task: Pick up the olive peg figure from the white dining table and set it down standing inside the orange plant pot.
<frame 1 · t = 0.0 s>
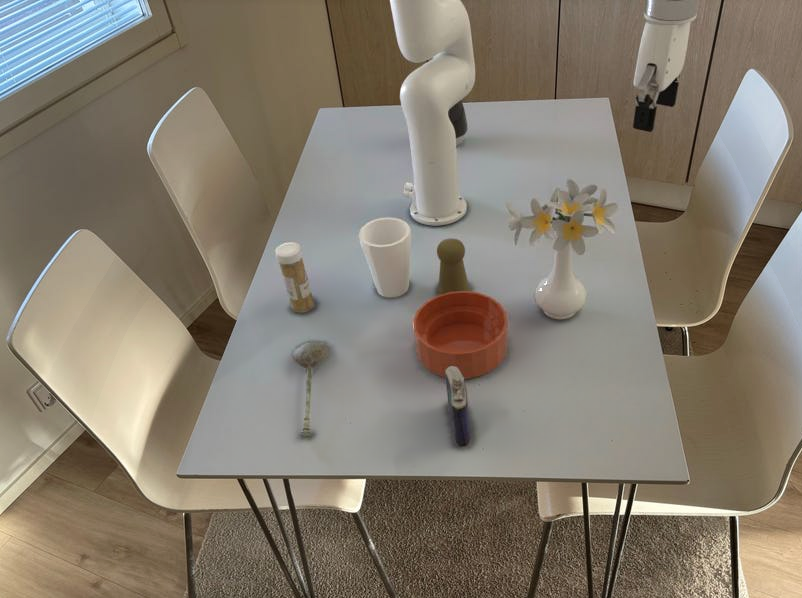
hand: (654, 116, 113), 31 cm above the table, tool pointing down, fingers open, 9 cm apart
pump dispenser: (447, 144, 176), on the table
foam cup: (392, 288, 136), on the table
soupspoon: (310, 388, 118), on the table
orange plant pot: (461, 348, 122), on the table
olive peg figure: (453, 290, 134), on the table
sprinkles bottle: (303, 306, 133), on the table
flower vase: (556, 311, 128), on the table
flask: (459, 425, 110), on the table
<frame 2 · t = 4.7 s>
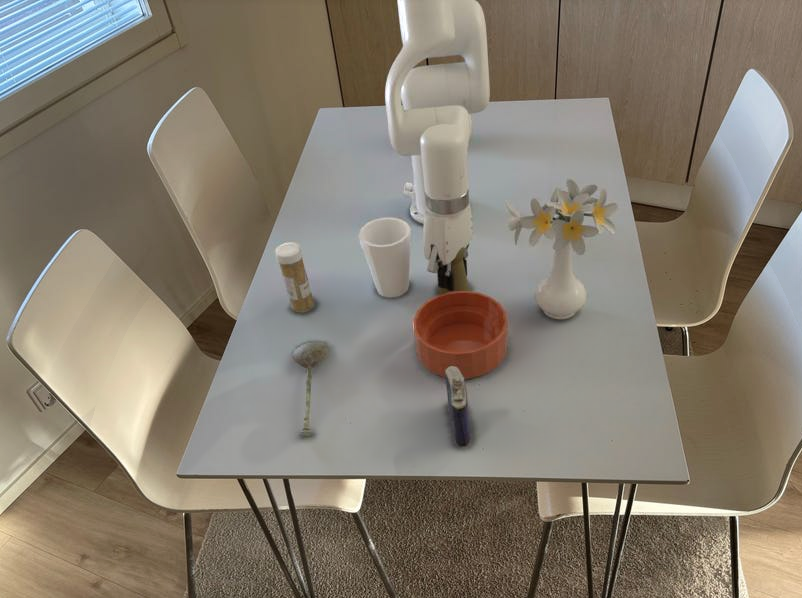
hand: (452, 280, 132), 2 cm above the table, tool pointing down, fingers closed on olive peg figure, 4 cm apart
olive peg figure: (453, 290, 134), on the table, touching gripper
everything else where it was.
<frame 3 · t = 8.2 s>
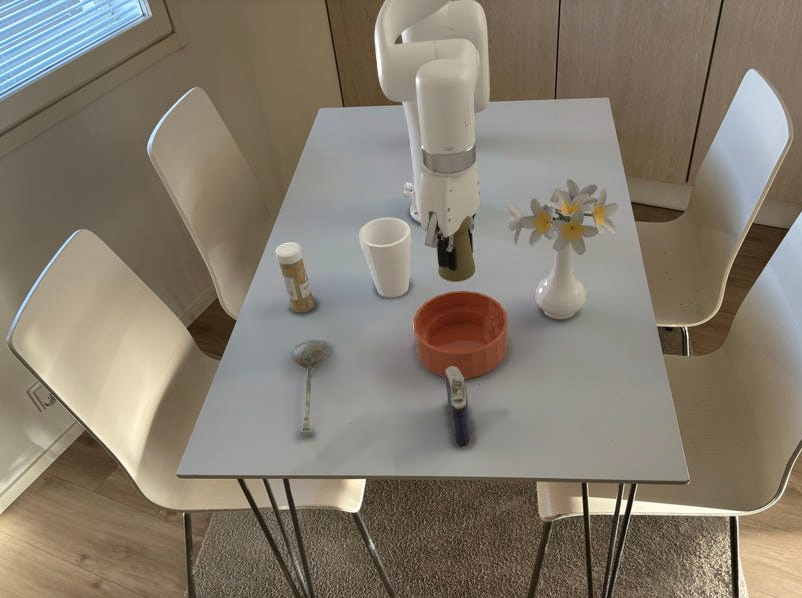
hand: (455, 258, 110), 19 cm above the table, tool pointing down, fingers closed on olive peg figure, 4 cm apart
olive peg figure: (456, 271, 112), point 16 cm above the table, touching gripper
everything else where it was.
when the fingers open (3 cm above the table, at t = 12.0 s): olive peg figure stays where it is, resting on orange plant pot.
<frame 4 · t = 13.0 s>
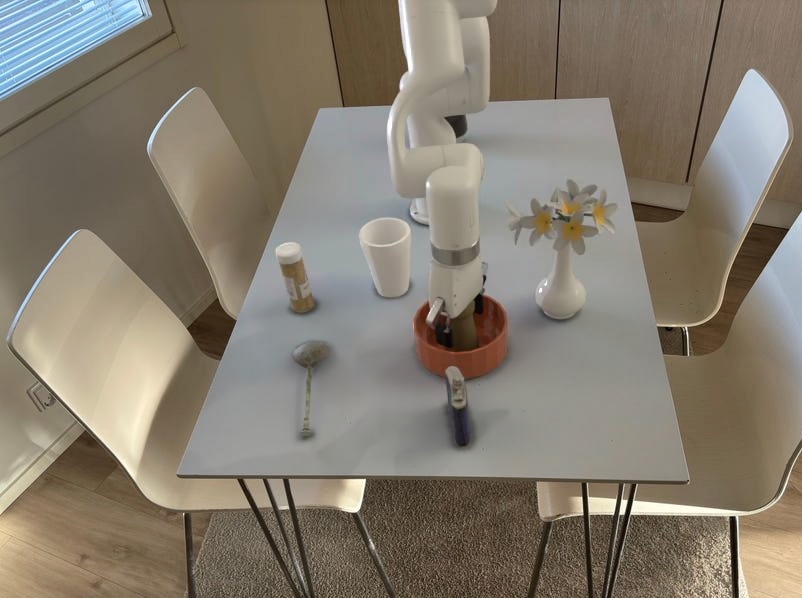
hand: (460, 327, 119), 5 cm above the table, tool pointing down, fingers open, 9 cm apart
olive peg figure: (461, 346, 122), resting on orange plant pot
everything else where it was.
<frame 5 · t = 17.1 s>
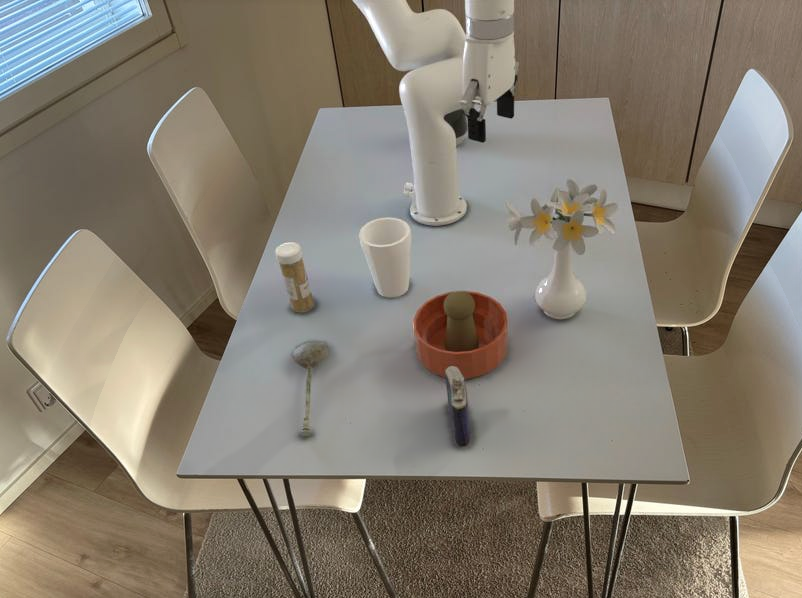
hand: (491, 128, 120), 28 cm above the table, tool pointing down, fingers open, 9 cm apart
nothing on the table moved.
at the end: olive peg figure inside the target area in the orange plant pot (0.1 cm from its centre), point 0.4 cm above the orange plant pot's base; the gripper is holding nothing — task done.
